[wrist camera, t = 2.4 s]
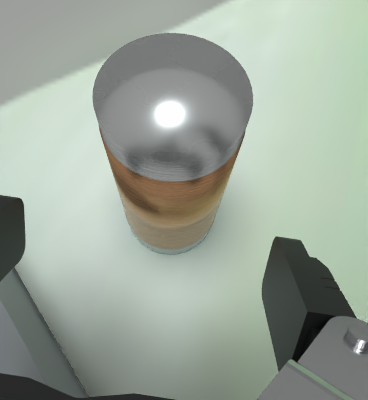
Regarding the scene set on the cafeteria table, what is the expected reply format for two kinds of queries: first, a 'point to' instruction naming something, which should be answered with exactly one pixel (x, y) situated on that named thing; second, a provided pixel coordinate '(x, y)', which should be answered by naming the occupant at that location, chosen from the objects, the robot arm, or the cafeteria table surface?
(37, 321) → the gray tray
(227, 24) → the cafeteria table surface
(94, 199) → the cafeteria table surface
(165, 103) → the tin can
